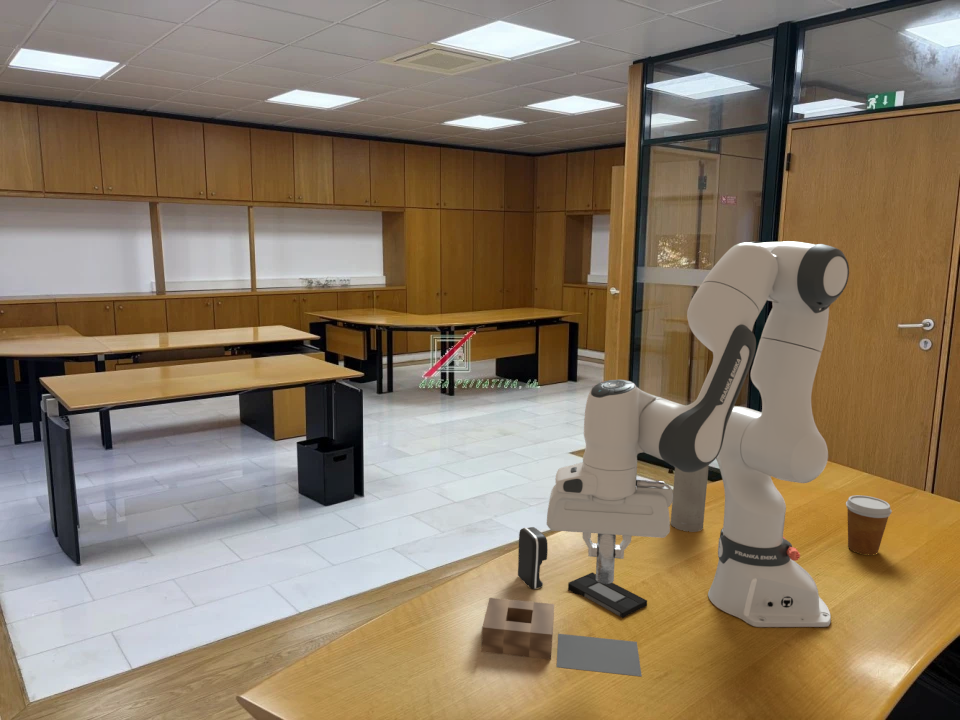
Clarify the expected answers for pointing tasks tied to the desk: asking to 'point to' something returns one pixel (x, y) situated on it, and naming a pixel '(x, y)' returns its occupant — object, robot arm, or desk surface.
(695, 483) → the thermos bottle
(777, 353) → the robot arm
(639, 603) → the vhs tape
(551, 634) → the hole block
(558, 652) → the mat
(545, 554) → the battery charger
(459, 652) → the desk surface
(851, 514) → the disposable coffee cup
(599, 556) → the peg
